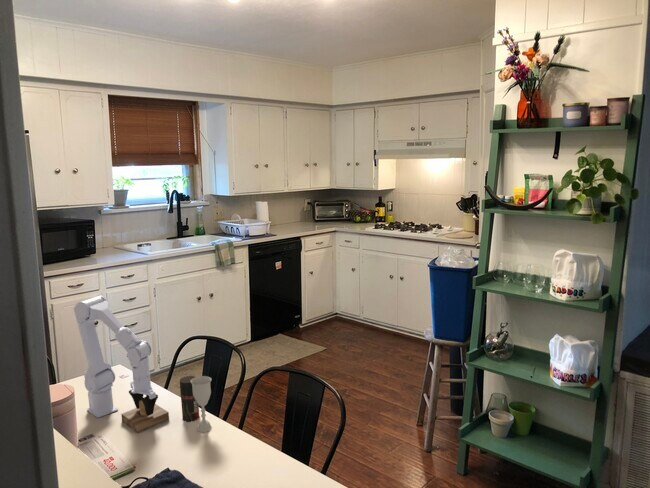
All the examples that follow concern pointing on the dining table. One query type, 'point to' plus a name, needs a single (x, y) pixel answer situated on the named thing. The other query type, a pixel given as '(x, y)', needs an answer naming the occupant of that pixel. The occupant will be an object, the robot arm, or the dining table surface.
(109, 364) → the robot arm
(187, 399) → the deodorant
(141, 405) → the pin
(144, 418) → the socket block
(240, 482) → the dining table surface
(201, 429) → the chalice
